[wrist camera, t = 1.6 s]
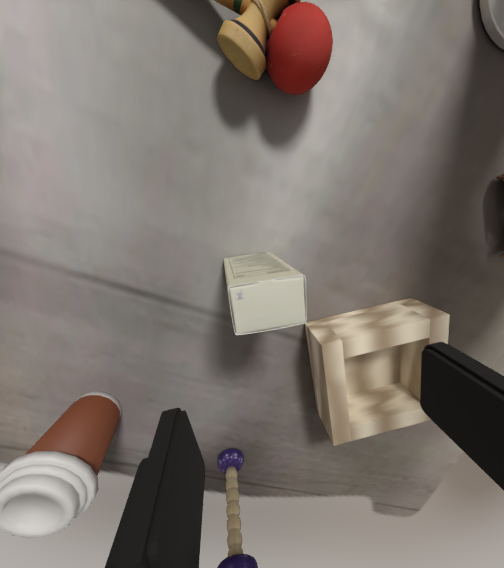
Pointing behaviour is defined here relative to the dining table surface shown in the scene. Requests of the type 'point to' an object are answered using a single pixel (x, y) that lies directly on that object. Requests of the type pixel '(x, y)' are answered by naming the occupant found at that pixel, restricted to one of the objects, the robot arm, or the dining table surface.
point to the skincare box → (264, 293)
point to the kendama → (278, 41)
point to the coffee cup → (59, 469)
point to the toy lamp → (233, 511)
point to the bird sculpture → (503, 178)
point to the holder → (372, 367)
